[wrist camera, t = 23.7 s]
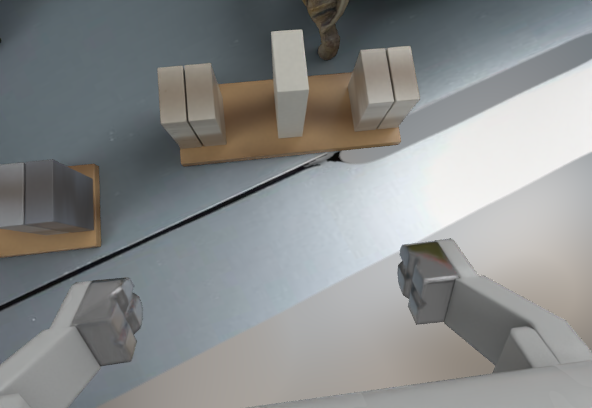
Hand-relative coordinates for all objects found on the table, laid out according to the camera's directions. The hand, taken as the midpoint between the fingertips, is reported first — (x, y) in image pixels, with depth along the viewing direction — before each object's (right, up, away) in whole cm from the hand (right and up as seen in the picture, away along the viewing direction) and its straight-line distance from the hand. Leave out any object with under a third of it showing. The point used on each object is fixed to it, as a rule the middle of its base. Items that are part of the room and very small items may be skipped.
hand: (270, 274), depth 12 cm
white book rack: (0, +11, +28) cm, 30 cm away
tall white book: (0, +11, +27) cm, 29 cm away
